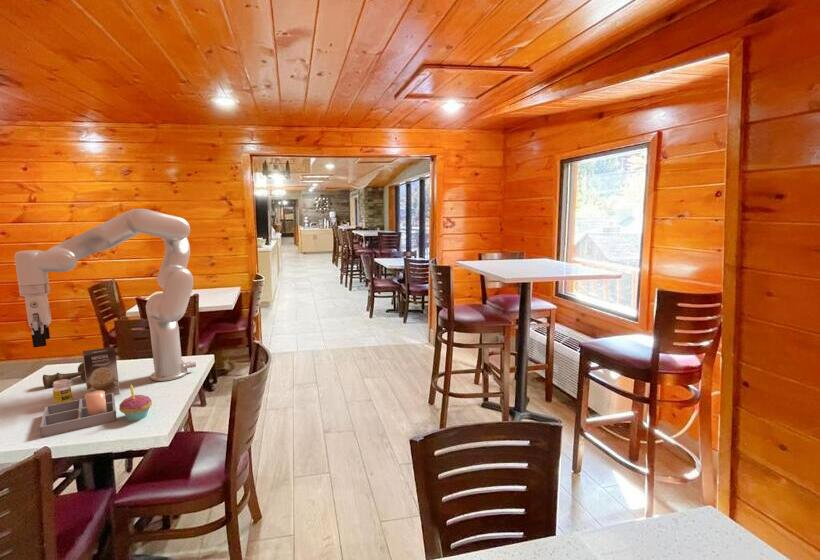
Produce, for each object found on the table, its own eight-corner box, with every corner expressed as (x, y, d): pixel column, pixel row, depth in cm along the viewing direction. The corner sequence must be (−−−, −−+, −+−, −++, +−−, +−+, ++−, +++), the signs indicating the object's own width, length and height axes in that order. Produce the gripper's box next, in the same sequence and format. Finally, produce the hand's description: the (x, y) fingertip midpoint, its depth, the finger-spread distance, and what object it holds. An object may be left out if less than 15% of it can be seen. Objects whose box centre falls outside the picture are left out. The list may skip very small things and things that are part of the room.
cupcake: (149, 422, 139) (145, 384, 137) (116, 427, 137) (111, 387, 135) (156, 411, 147) (152, 374, 145) (125, 415, 145) (120, 377, 143)
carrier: (115, 402, 155) (113, 392, 154) (117, 422, 140) (115, 411, 139) (47, 416, 145) (45, 406, 144) (41, 439, 130) (39, 427, 130)
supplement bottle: (63, 409, 150) (59, 384, 149) (51, 408, 151) (47, 383, 150) (76, 403, 155) (73, 379, 153) (64, 402, 156) (61, 378, 154)
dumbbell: (43, 385, 174) (107, 371, 186) (44, 394, 166) (111, 378, 179) (41, 370, 172) (105, 357, 185) (41, 377, 165) (108, 363, 177)
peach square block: (107, 414, 144) (104, 389, 143) (107, 419, 140) (104, 394, 139) (88, 418, 142) (85, 392, 141) (88, 424, 138) (85, 398, 137)
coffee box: (88, 402, 155) (82, 355, 153) (87, 396, 160) (81, 351, 158) (120, 395, 161) (115, 350, 158) (119, 390, 166) (113, 345, 163)
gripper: (46, 292, 142) (53, 347, 145) (52, 285, 157) (59, 335, 159) (14, 295, 138) (22, 351, 141) (23, 287, 153) (31, 338, 155)
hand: (42, 342), depth 150 cm, fingers open, 9 cm apart
